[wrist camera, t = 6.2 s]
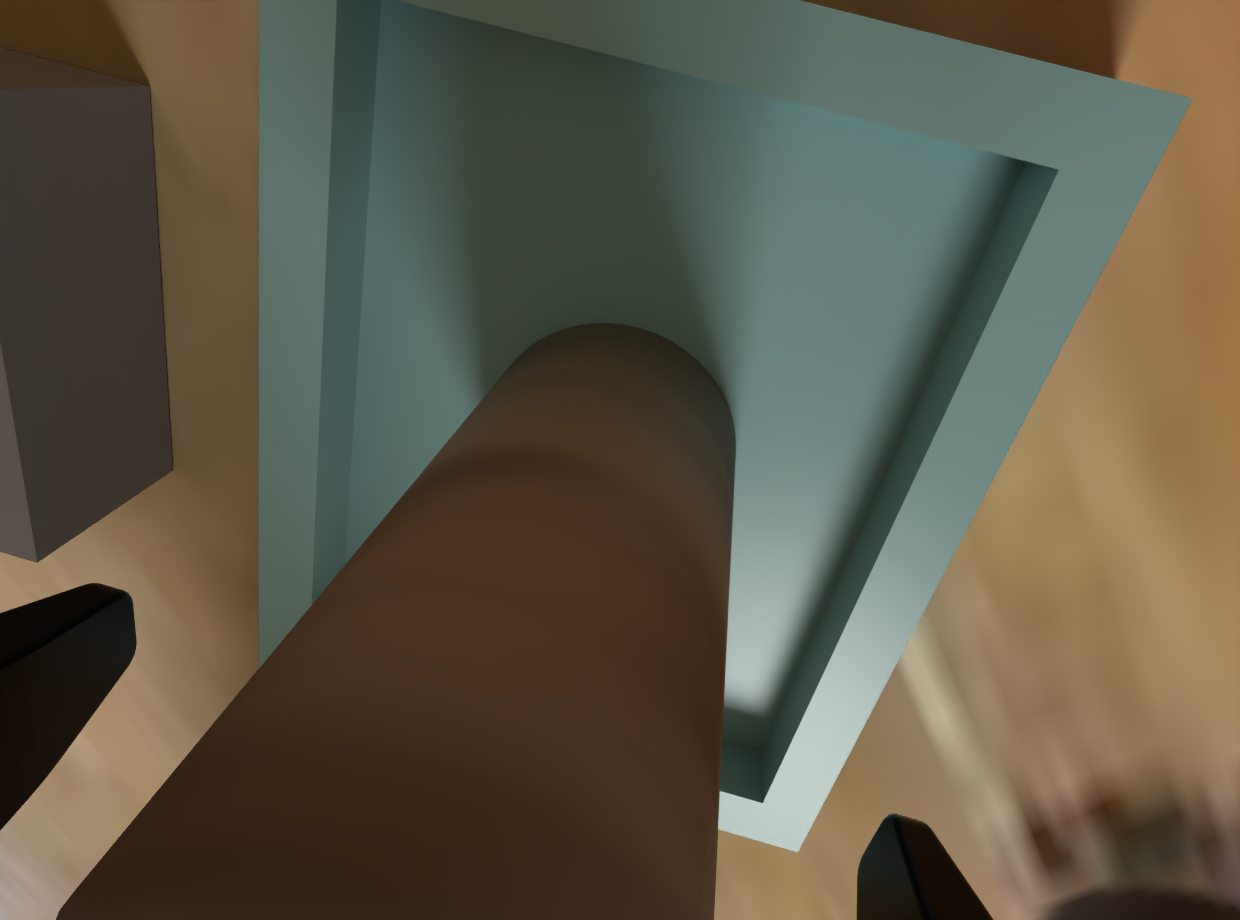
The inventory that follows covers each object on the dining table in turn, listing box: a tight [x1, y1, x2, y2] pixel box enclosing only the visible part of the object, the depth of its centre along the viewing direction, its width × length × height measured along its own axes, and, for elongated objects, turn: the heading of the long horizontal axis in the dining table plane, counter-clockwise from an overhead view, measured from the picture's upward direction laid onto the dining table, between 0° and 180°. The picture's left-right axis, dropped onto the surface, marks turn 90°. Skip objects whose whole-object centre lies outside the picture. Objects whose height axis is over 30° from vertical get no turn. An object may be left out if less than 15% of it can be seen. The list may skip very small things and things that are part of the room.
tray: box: [259, 0, 1192, 852], centre depth 15 cm, size 16×13×2 cm
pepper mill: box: [56, 323, 736, 920], centre depth 11 cm, size 5×5×11 cm
